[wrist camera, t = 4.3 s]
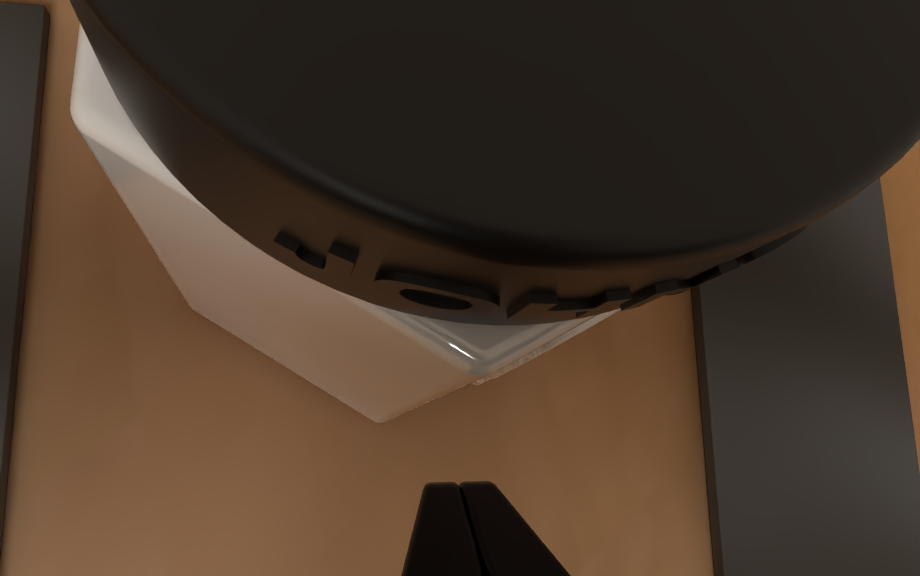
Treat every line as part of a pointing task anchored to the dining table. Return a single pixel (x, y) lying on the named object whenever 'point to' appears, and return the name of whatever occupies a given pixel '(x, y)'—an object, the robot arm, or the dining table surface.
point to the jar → (477, 162)
